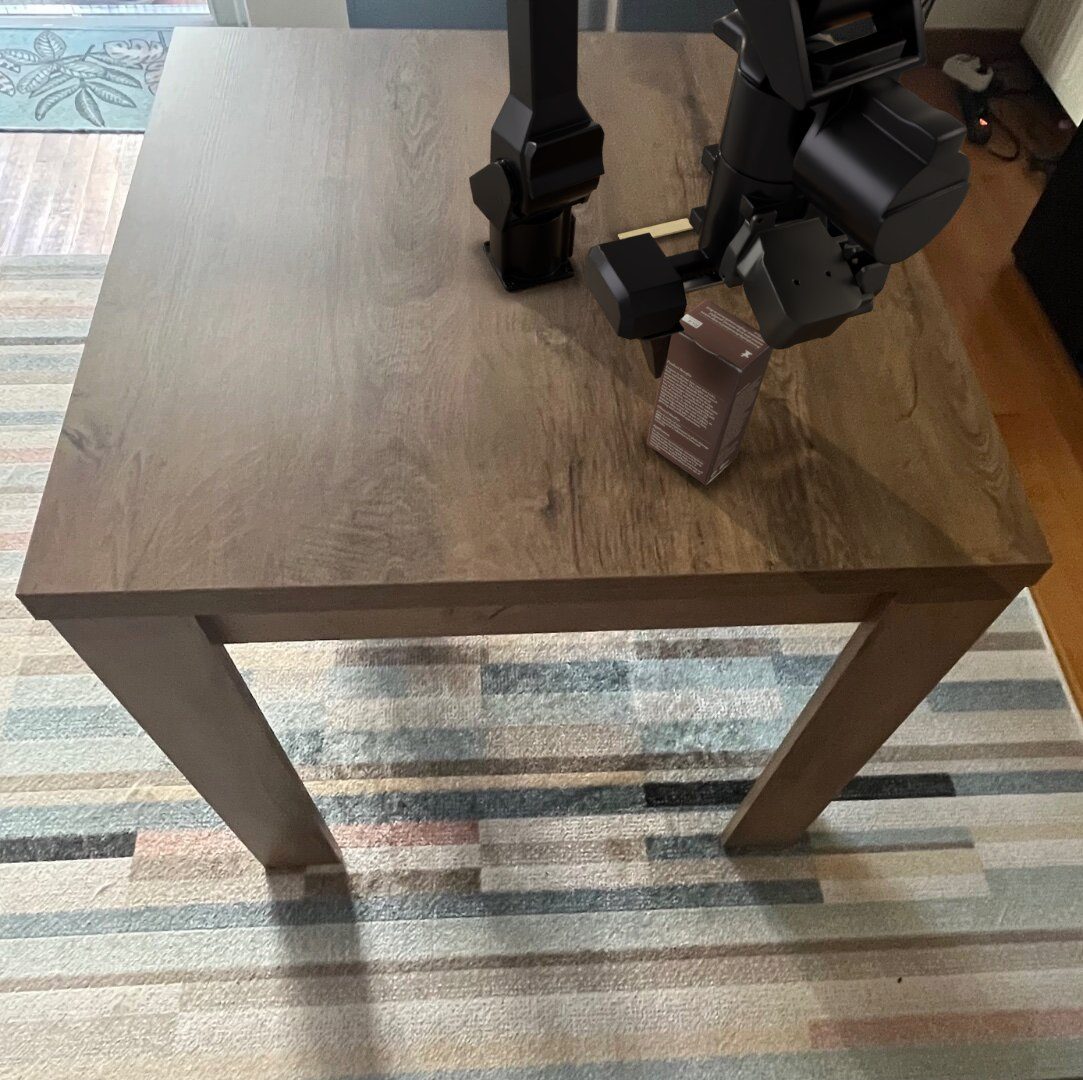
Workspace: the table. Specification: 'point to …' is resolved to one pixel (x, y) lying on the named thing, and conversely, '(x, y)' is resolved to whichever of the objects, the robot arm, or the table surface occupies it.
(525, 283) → the robot arm
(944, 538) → the table surface
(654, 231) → the tape mark
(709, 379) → the box
